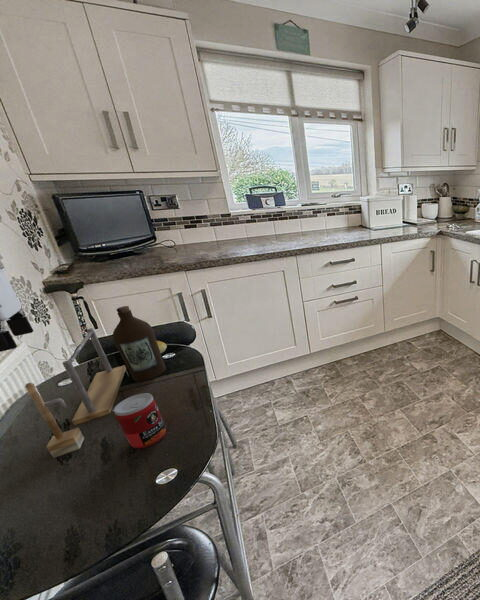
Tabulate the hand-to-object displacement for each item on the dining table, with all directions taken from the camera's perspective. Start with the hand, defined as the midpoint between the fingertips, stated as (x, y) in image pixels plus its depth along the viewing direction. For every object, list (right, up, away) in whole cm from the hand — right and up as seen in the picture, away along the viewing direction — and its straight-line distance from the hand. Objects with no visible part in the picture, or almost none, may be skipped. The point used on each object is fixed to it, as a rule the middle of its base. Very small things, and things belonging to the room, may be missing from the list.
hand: (16, 341), depth 73 cm
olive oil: (-1, -17, +40) cm, 44 cm away
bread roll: (-11, -12, +56) cm, 58 cm away
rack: (-9, -21, +31) cm, 39 cm away
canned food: (+22, -26, +10) cm, 36 cm away
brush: (+2, -28, +9) cm, 30 cm away
